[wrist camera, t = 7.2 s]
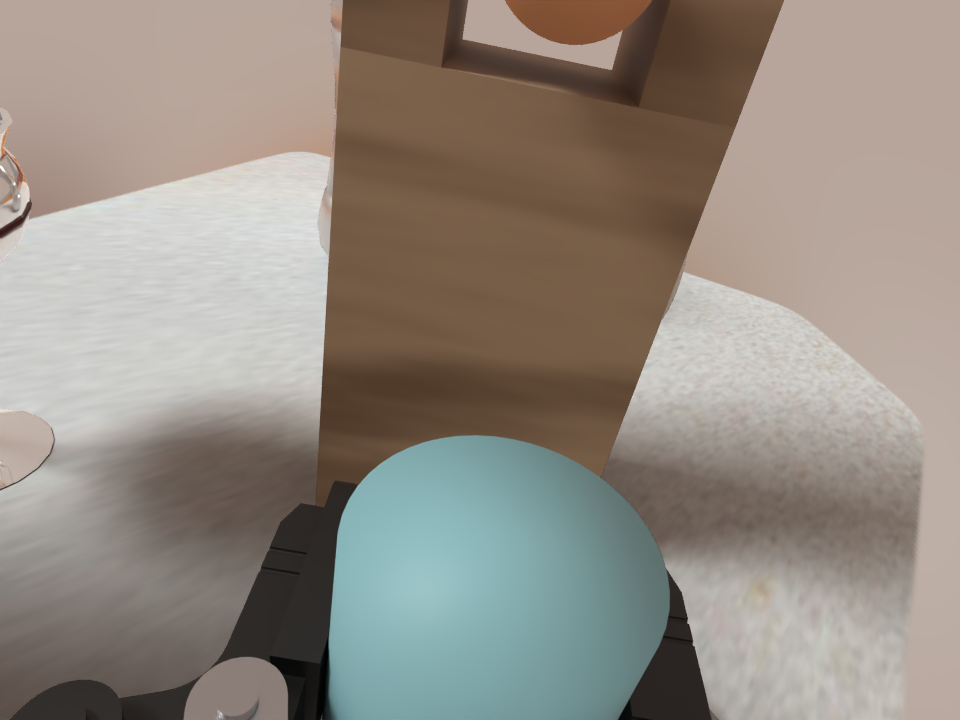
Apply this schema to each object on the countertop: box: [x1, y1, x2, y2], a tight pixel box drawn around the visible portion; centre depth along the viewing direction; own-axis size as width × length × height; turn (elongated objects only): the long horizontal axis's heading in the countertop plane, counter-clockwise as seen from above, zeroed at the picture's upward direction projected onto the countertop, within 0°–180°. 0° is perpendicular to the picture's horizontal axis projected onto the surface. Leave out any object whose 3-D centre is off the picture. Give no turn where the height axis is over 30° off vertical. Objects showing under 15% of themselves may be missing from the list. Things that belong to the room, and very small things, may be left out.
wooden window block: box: [315, 0, 784, 507], centre depth 21 cm, size 6×10×24 cm, turn 86°
